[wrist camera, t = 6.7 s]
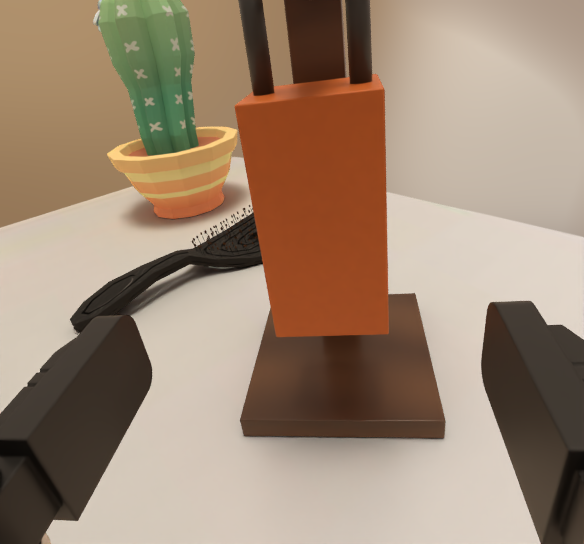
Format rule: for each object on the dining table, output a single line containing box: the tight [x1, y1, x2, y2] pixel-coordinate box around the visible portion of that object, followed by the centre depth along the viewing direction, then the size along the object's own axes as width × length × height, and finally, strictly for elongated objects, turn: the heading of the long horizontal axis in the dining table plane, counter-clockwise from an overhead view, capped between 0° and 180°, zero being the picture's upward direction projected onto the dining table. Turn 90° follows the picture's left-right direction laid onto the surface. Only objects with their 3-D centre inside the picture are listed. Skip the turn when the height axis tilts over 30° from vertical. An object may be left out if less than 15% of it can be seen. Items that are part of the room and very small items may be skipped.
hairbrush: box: [70, 205, 263, 332], centre depth 39 cm, size 8×4×25 cm
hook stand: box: [240, 0, 445, 438], centre depth 19 cm, size 14×10×25 cm
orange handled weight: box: [235, 0, 389, 337], centre depth 17 cm, size 4×5×15 cm
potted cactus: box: [93, 0, 237, 219], centre depth 49 cm, size 15×15×25 cm
